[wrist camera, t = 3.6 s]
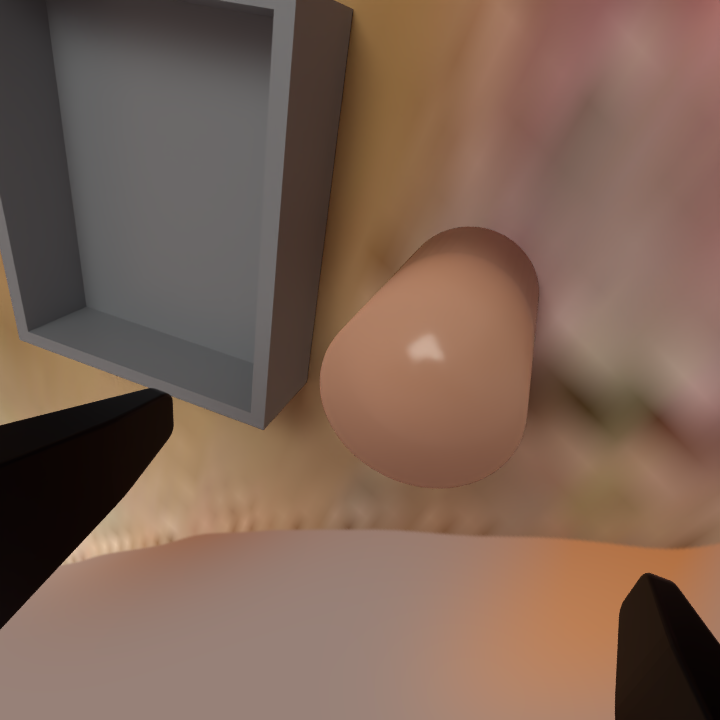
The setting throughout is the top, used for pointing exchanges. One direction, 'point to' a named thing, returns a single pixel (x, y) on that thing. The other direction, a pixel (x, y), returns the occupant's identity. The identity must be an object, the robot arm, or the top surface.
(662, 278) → the top surface
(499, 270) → the terracotta cylinder
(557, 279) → the top surface
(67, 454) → the robot arm
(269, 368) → the bin
